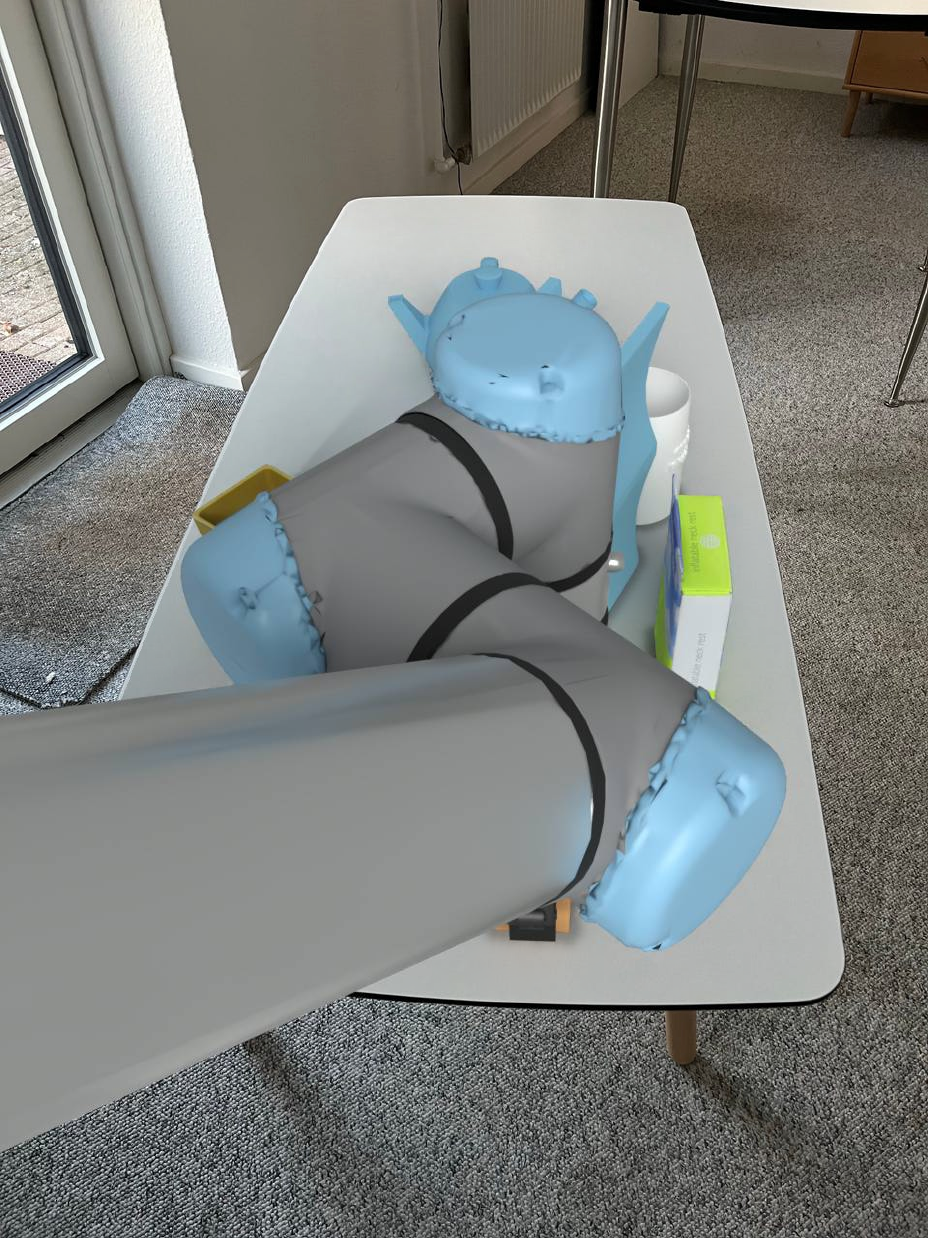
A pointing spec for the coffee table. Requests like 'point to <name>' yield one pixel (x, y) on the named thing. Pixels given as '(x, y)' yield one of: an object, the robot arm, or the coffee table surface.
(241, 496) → the flower pot
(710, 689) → the box
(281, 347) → the coffee table surface
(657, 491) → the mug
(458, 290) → the teapot
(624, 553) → the blue doll chair
